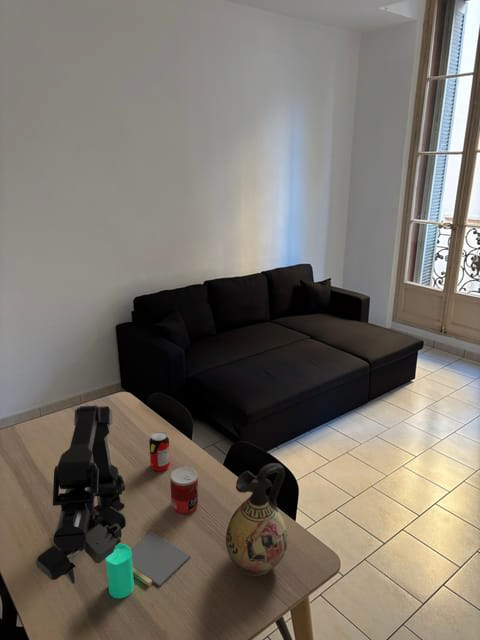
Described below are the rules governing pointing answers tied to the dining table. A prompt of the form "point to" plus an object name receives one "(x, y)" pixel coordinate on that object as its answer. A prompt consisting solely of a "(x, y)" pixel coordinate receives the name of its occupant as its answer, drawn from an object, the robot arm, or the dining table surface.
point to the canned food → (184, 490)
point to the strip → (142, 577)
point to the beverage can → (159, 451)
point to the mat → (157, 558)
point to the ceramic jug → (257, 524)
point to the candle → (120, 571)
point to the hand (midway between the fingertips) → (87, 570)
